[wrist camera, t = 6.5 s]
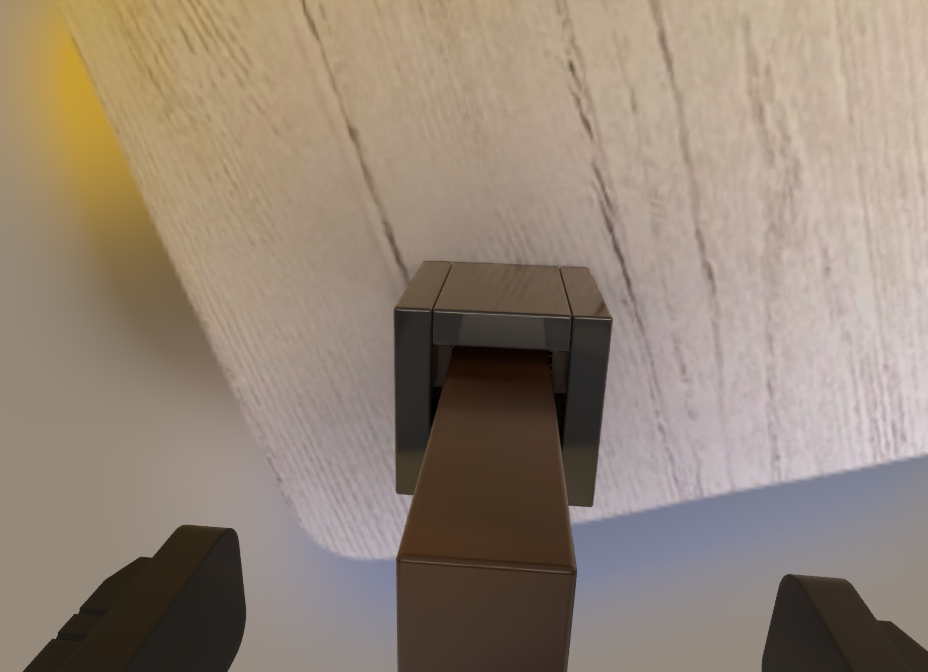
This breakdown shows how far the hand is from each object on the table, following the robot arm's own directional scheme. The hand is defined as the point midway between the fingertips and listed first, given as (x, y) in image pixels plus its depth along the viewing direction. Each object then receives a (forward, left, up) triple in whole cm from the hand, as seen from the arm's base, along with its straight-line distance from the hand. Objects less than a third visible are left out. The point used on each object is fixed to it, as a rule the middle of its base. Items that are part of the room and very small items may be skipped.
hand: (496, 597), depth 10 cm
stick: (0, 0, -11) cm, 11 cm away
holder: (0, 0, -11) cm, 11 cm away
